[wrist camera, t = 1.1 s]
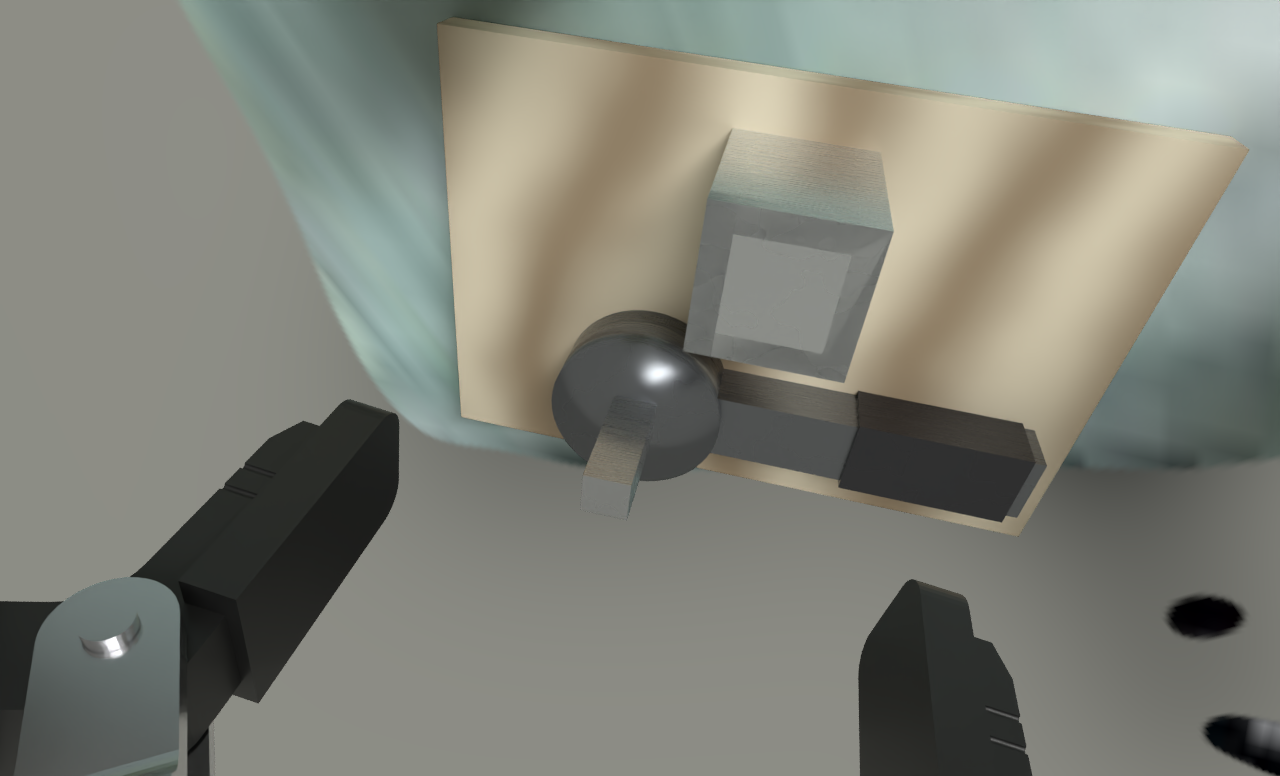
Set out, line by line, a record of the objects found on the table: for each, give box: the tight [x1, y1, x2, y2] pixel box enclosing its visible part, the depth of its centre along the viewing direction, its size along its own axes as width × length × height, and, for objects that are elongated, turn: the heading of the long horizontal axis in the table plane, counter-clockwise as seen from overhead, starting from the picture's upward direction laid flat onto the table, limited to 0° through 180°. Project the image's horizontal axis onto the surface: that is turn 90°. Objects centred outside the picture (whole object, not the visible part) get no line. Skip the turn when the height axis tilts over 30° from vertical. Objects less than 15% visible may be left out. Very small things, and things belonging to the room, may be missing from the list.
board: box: [437, 17, 1249, 537], centre depth 27 cm, size 24×16×1 cm, turn 84°
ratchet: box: [551, 310, 1047, 523], centre depth 26 cm, size 18×6×7 cm, turn 84°
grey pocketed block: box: [683, 128, 894, 383], centre depth 22 cm, size 5×5×6 cm
